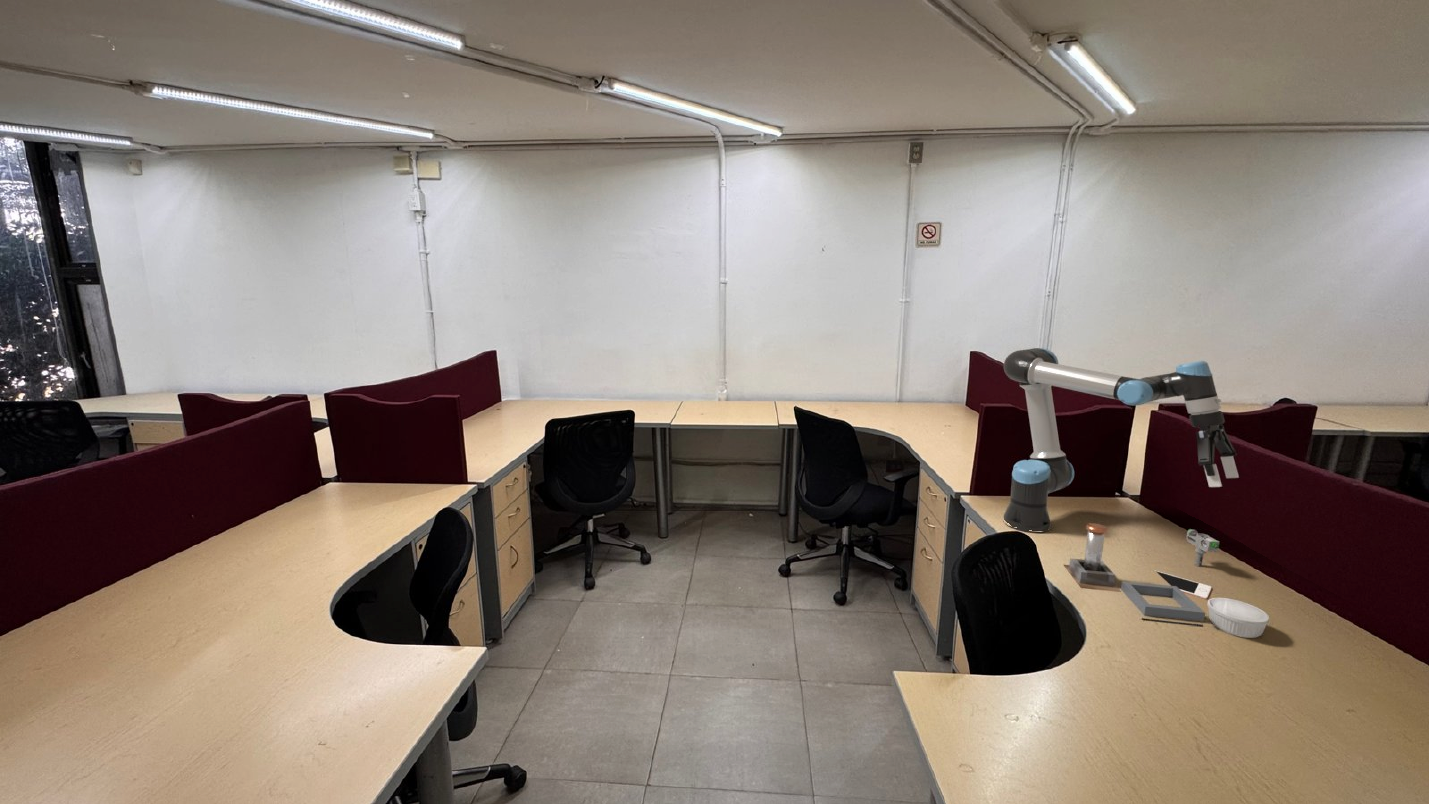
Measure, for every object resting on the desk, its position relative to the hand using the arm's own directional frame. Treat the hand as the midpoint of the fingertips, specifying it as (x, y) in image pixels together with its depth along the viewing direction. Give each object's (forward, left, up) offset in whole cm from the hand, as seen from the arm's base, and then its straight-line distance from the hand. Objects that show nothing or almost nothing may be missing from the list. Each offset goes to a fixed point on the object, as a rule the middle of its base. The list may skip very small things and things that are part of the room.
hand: (1224, 482), depth 161 cm
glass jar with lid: (+17, -38, -26) cm, 49 cm away
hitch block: (+17, -38, -28) cm, 50 cm away
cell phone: (+12, -16, -28) cm, 35 cm away
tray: (+29, -26, -28) cm, 48 cm away
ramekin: (+34, -12, -28) cm, 46 cm away
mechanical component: (-1, -2, -28) cm, 28 cm away
